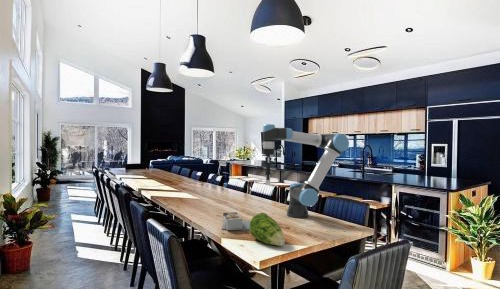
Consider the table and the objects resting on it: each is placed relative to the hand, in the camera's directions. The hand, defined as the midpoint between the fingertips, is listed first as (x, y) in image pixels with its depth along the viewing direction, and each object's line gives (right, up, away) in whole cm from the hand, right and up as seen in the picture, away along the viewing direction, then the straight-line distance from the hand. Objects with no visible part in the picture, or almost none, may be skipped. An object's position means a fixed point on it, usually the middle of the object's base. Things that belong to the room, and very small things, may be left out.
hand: (267, 184), depth 194 cm
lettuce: (-2, -25, -37) cm, 45 cm away
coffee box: (-20, -20, -20) cm, 35 cm away
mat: (-19, -24, -9) cm, 32 cm away
